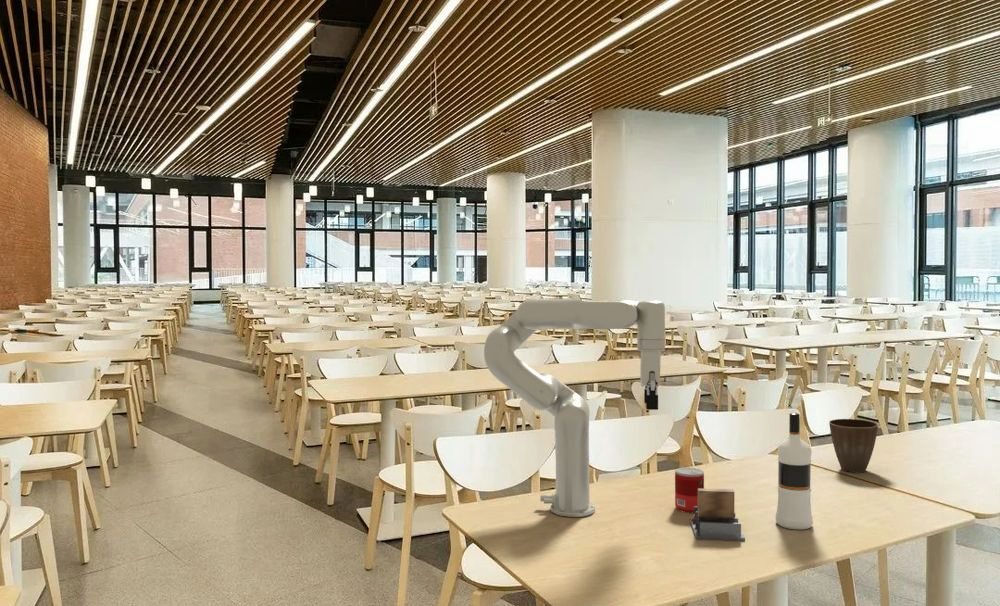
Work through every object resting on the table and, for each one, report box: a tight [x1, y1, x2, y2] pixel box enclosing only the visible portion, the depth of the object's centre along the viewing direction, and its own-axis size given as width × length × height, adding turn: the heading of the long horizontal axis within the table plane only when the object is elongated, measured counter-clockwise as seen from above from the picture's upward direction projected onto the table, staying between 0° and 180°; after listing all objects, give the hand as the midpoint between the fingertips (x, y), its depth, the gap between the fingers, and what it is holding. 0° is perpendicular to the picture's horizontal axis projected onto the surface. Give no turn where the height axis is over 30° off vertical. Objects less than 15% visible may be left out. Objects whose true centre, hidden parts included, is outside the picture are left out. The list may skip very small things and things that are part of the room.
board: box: [698, 488, 735, 517], centre depth 198 cm, size 9×2×10 cm, turn 82°
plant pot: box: [828, 418, 879, 473], centre depth 255 cm, size 15×15×16 cm
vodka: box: [775, 412, 814, 531], centre depth 201 cm, size 9×9×30 cm
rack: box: [689, 506, 746, 542], centre depth 198 cm, size 12×13×4 cm
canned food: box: [674, 467, 705, 514], centre depth 216 cm, size 8×8×11 cm
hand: (651, 406), depth 211 cm, fingers open, 9 cm apart
